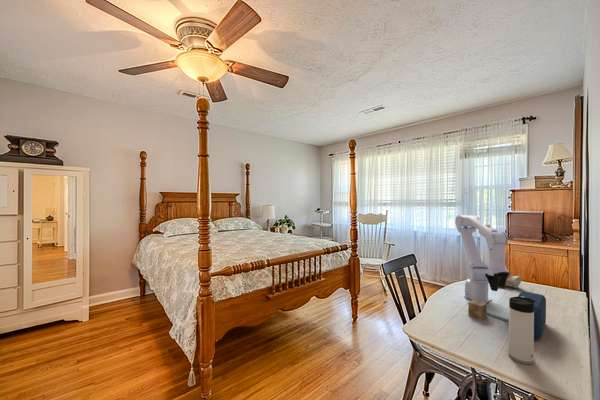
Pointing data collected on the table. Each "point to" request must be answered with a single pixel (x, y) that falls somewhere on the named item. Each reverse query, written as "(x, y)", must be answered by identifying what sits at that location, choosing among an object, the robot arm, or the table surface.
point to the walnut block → (477, 309)
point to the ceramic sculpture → (513, 281)
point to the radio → (537, 312)
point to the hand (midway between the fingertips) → (497, 289)
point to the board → (498, 311)
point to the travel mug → (521, 329)
